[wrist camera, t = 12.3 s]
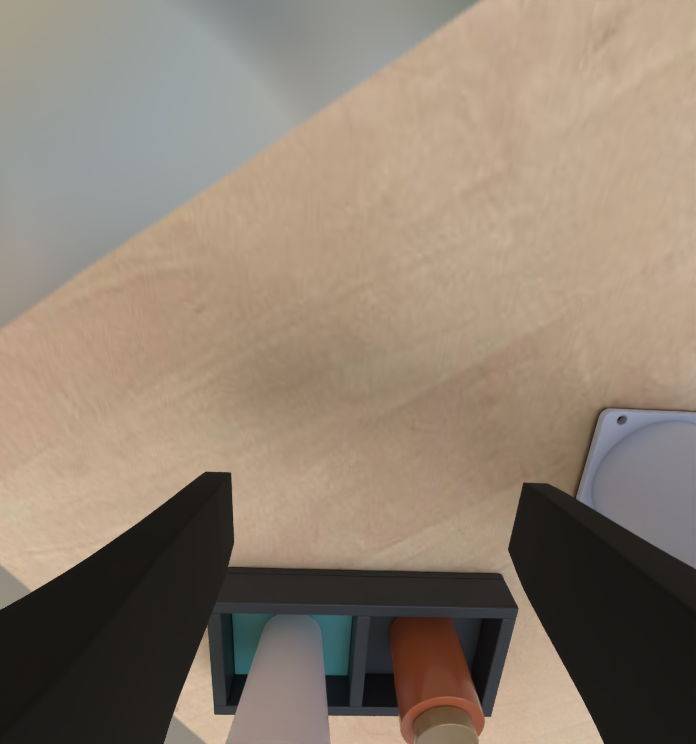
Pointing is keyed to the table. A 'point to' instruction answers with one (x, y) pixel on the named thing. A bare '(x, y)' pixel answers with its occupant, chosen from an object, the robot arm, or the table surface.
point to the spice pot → (433, 683)
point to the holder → (358, 628)
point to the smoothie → (284, 687)
